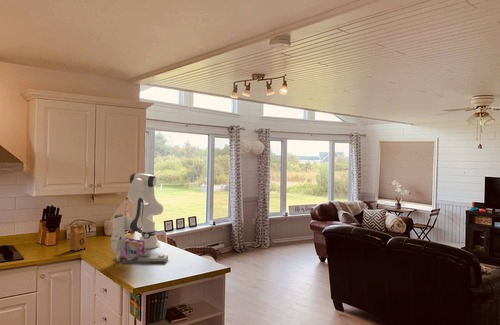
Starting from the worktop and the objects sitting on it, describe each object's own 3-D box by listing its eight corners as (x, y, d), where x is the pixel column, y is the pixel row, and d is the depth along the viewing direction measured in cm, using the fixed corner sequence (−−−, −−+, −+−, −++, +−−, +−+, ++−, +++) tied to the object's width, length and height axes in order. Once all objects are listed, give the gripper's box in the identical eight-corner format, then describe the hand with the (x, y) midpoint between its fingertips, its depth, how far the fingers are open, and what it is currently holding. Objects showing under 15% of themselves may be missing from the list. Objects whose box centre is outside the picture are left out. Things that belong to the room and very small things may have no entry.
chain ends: (126, 260, 281) (126, 253, 281) (168, 260, 281) (168, 253, 281) (122, 263, 272) (122, 256, 272) (165, 263, 272) (165, 256, 272)
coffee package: (88, 248, 319) (88, 223, 319) (75, 252, 308) (75, 225, 308) (80, 247, 324) (80, 222, 324) (67, 250, 313) (67, 224, 313)
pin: (117, 260, 281) (117, 247, 281) (122, 260, 281) (122, 247, 281) (115, 262, 277) (115, 248, 277) (120, 262, 277) (120, 248, 277)
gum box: (146, 258, 287) (146, 241, 287) (138, 260, 280) (138, 243, 280) (126, 254, 300) (126, 237, 300) (118, 256, 293) (118, 239, 293)
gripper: (119, 233, 289) (119, 251, 289) (109, 238, 268) (109, 257, 268) (127, 233, 289) (127, 251, 289) (118, 238, 268) (118, 257, 268)
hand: (118, 254), depth 278 cm, fingers open, 8 cm apart
